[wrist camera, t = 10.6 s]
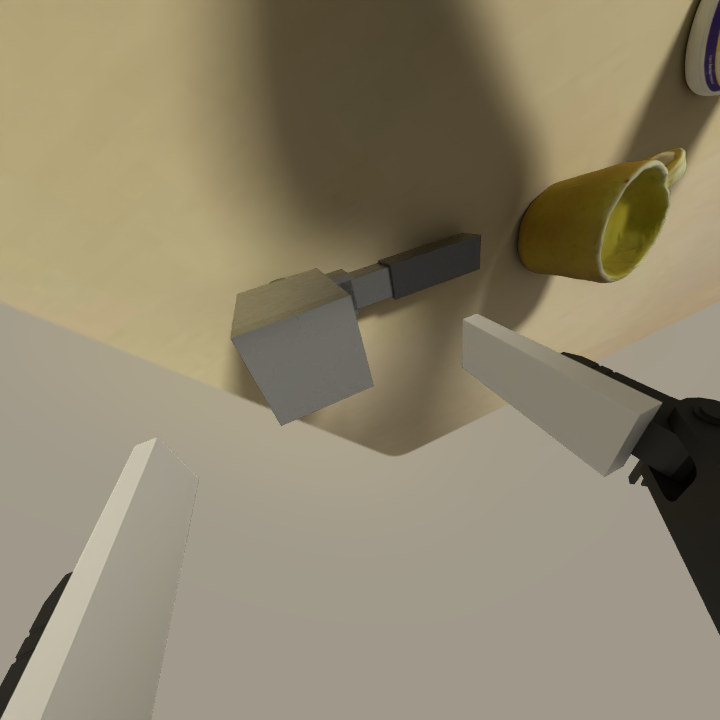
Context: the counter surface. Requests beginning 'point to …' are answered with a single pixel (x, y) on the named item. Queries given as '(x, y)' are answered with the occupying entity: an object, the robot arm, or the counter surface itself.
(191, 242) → the counter surface
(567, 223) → the mug
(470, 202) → the counter surface
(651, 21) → the counter surface
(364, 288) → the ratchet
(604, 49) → the counter surface
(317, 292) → the grey block
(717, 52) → the supplement tub
